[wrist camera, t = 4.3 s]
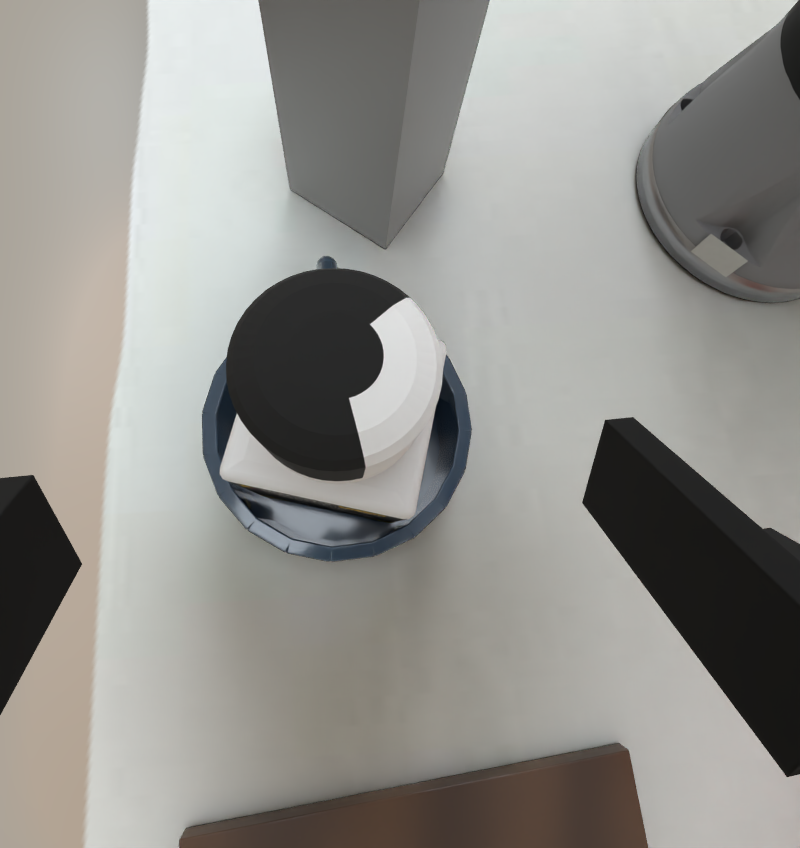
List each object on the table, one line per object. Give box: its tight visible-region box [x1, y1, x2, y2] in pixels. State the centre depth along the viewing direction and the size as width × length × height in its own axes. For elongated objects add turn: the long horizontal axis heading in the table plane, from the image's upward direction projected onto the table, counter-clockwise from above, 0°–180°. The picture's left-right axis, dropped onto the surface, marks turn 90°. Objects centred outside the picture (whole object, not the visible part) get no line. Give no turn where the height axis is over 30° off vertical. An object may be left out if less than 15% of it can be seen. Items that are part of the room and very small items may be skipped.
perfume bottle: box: [259, 0, 490, 249], centre depth 19 cm, size 7×7×18 cm
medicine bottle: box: [220, 268, 447, 523], centre depth 18 cm, size 7×7×12 cm
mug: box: [202, 256, 472, 562], centre depth 22 cm, size 14×11×4 cm
